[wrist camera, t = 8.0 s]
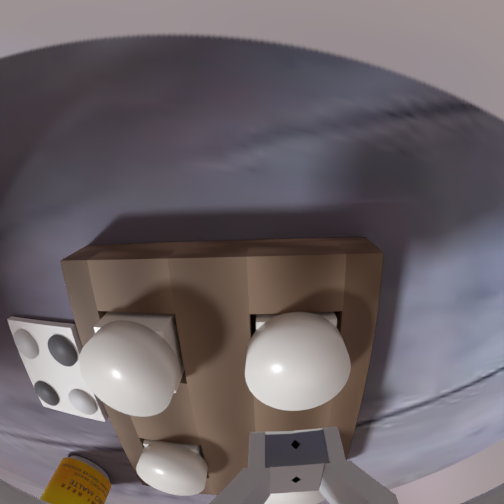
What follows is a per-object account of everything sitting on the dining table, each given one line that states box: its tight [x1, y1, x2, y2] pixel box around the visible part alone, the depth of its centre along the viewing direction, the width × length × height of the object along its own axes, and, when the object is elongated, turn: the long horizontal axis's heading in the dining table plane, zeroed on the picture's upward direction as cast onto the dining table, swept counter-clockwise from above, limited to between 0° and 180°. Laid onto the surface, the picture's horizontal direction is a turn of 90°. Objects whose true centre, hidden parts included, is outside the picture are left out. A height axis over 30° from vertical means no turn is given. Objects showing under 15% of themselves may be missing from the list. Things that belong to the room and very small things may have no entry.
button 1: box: [136, 439, 208, 496], centre depth 19 cm, size 5×5×4 cm
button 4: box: [245, 311, 351, 411], centre depth 15 cm, size 5×5×4 cm
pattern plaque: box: [7, 316, 108, 422], centre depth 20 cm, size 7×9×1 cm
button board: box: [61, 237, 384, 495], centre depth 18 cm, size 16×20×3 cm
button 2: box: [79, 311, 184, 417], centre depth 15 cm, size 5×5×4 cm
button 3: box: [264, 491, 325, 504], centre depth 17 cm, size 5×5×4 cm
